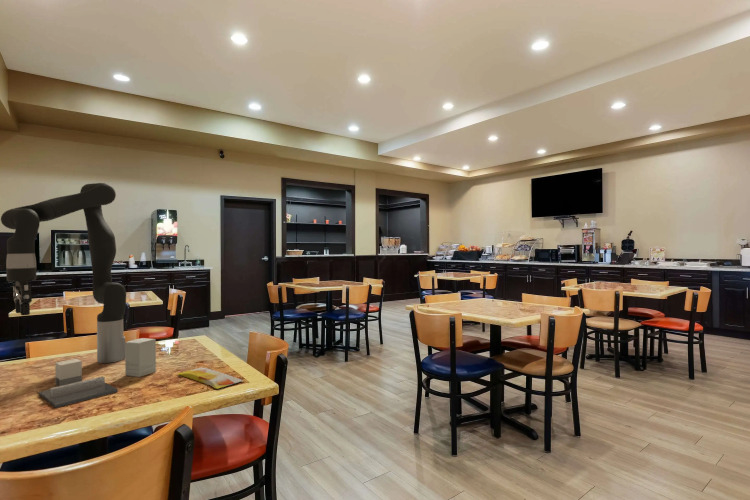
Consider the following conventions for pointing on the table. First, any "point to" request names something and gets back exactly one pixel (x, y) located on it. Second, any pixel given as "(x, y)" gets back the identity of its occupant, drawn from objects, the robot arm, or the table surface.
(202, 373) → the food package
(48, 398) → the rail board
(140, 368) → the supplement box
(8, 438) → the table surface
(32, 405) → the table surface
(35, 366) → the table surface
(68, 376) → the block
